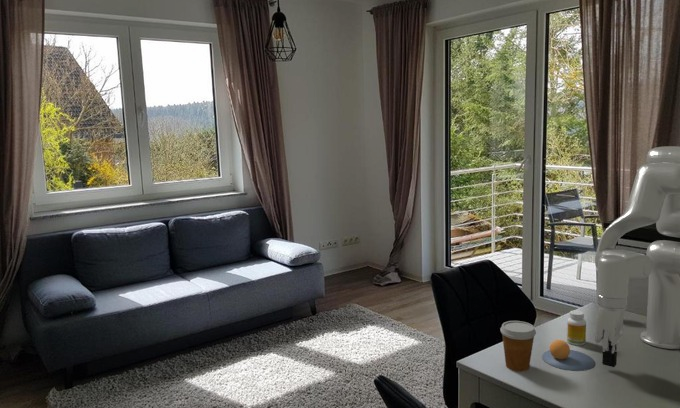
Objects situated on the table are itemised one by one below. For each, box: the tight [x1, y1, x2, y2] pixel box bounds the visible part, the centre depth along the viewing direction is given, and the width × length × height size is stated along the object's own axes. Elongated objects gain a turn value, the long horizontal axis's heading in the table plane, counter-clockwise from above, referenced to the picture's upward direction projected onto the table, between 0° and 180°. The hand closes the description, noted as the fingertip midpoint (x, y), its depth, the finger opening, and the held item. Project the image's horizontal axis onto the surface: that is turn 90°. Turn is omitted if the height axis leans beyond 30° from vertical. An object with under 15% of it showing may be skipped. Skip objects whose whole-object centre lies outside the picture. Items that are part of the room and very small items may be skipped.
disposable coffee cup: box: [499, 320, 537, 372], centre depth 150 cm, size 10×10×12 cm
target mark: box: [541, 349, 596, 372], centre depth 154 cm, size 14×14×1 cm
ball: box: [549, 339, 571, 360], centre depth 154 cm, size 6×6×6 cm
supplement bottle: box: [566, 310, 587, 346], centre depth 165 cm, size 5×5×10 cm
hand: (609, 364), depth 147 cm, fingers closed
